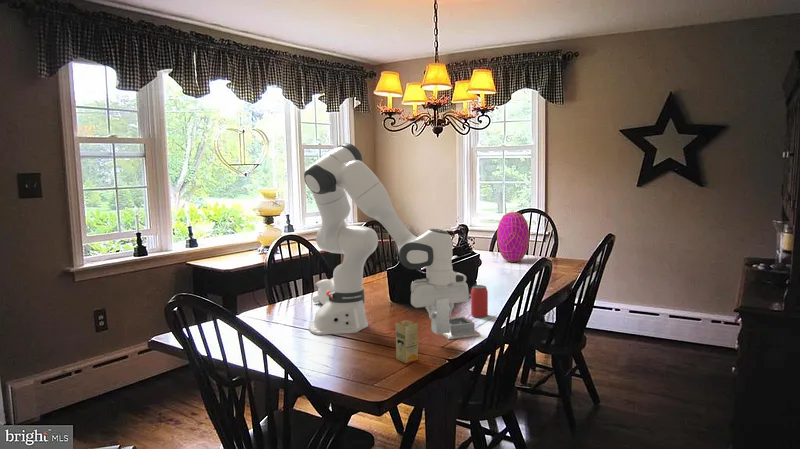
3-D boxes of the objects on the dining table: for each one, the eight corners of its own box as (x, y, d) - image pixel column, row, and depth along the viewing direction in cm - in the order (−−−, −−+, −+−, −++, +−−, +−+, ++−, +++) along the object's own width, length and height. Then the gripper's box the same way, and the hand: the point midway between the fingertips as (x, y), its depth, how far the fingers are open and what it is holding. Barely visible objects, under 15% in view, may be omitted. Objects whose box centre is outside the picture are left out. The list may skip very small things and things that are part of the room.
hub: (449, 339, 198) (449, 327, 197) (436, 329, 209) (436, 318, 209) (480, 335, 202) (480, 323, 201) (466, 326, 213) (465, 315, 212)
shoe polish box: (408, 355, 183) (407, 319, 182) (418, 359, 179) (417, 322, 178) (396, 358, 180) (395, 322, 179) (405, 363, 176) (405, 325, 175)
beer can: (475, 318, 223) (474, 289, 221) (468, 314, 229) (468, 285, 228) (490, 317, 224) (490, 287, 223) (483, 313, 231) (483, 284, 229)
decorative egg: (527, 258, 350) (527, 210, 347) (530, 264, 331) (531, 213, 328) (496, 258, 353) (496, 210, 349) (497, 264, 334) (497, 214, 330)
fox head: (320, 282, 261) (296, 289, 243) (349, 271, 255) (327, 277, 237) (329, 309, 260) (306, 318, 242) (359, 299, 254) (338, 307, 236)
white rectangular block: (436, 334, 189) (436, 299, 188) (431, 330, 194) (430, 296, 192) (449, 332, 191) (448, 298, 189) (443, 328, 195) (442, 294, 194)
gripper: (414, 282, 183) (415, 323, 185) (470, 276, 190) (471, 316, 192) (407, 278, 189) (408, 318, 191) (462, 272, 196) (462, 311, 198)
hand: (440, 317), depth 191 cm, fingers closed on white rectangular block, 5 cm apart
